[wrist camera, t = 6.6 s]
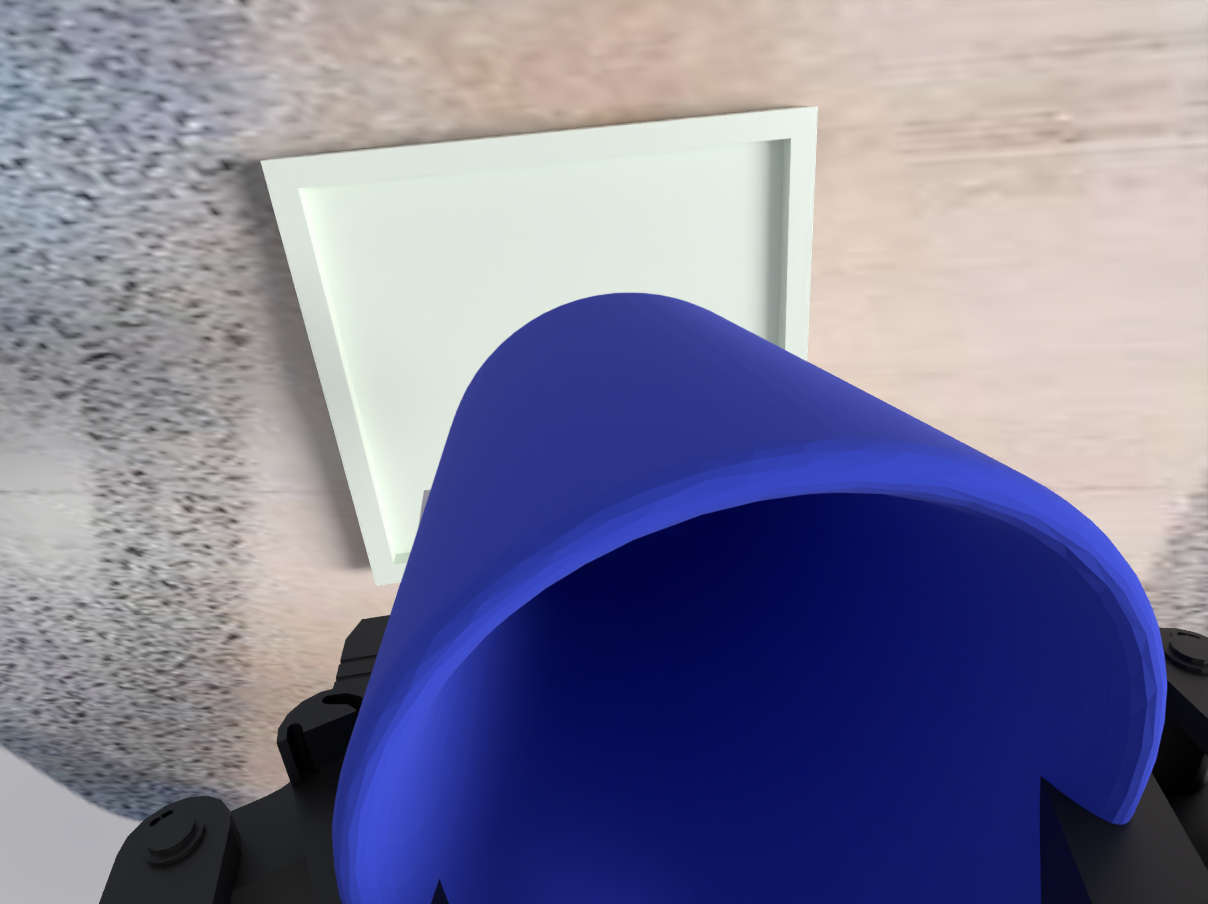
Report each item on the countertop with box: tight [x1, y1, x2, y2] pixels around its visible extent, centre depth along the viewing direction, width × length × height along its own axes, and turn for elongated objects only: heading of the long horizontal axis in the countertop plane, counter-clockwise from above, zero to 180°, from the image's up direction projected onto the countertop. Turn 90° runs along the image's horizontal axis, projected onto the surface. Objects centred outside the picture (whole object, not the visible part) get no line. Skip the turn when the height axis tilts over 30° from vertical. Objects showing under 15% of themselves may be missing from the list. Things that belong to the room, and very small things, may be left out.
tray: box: [261, 106, 818, 586], centre depth 31 cm, size 18×20×2 cm
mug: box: [332, 293, 1167, 904], centre depth 12 cm, size 8×12×10 cm
